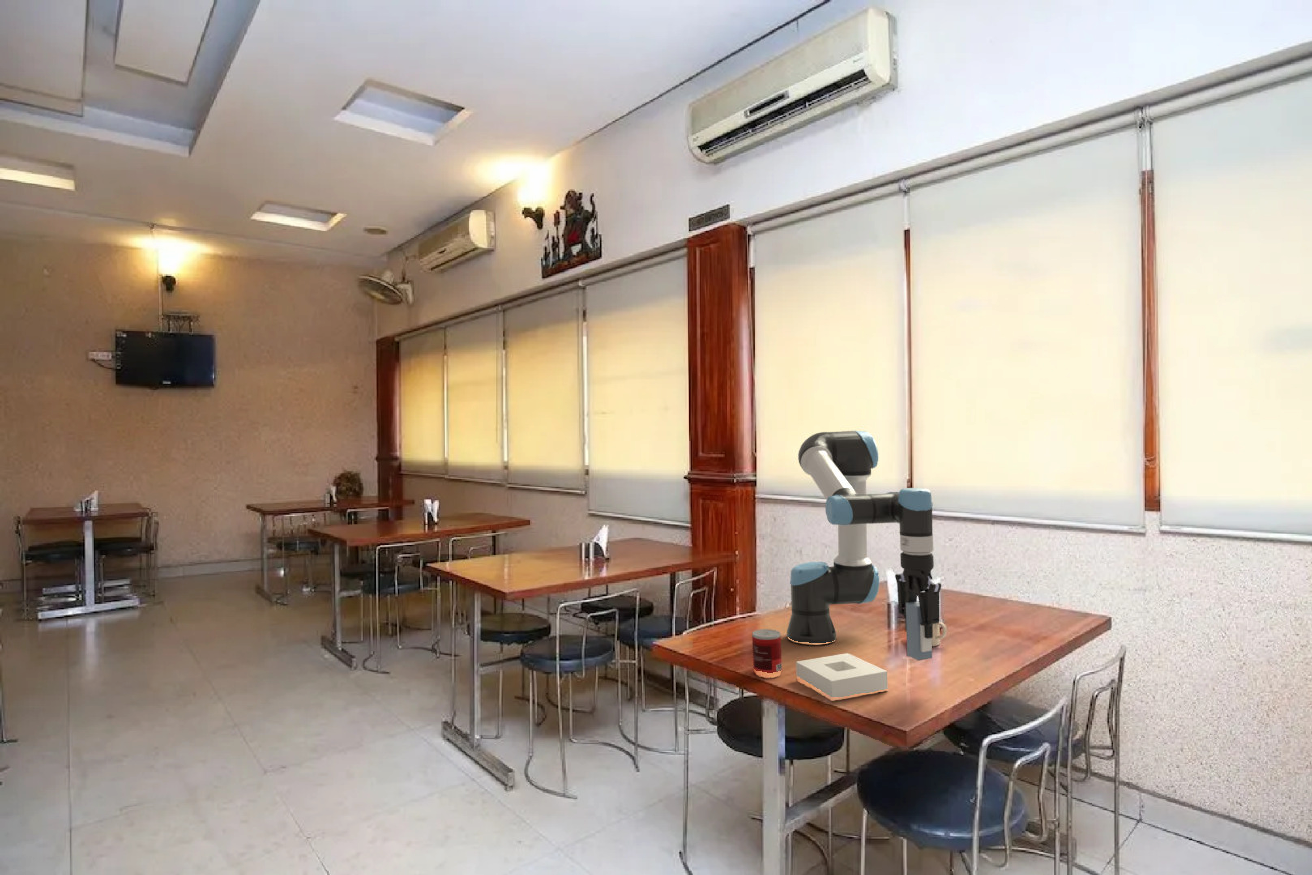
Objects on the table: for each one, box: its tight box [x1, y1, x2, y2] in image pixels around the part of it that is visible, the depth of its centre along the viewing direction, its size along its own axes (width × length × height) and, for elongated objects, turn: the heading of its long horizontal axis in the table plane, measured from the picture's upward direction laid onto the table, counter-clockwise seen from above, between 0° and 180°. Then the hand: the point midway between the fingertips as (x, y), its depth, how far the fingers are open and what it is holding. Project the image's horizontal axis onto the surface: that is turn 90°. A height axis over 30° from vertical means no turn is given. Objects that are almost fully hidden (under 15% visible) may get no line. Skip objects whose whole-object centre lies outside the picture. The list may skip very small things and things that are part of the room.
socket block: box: [795, 652, 889, 697], centre depth 175 cm, size 16×16×5 cm
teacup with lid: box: [932, 621, 948, 647], centre depth 207 cm, size 12×9×12 cm
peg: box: [905, 600, 933, 661], centre depth 168 cm, size 4×4×13 cm
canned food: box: [751, 628, 783, 673], centre depth 186 cm, size 8×8×11 cm
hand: (919, 647), depth 168 cm, fingers closed on peg, 4 cm apart
